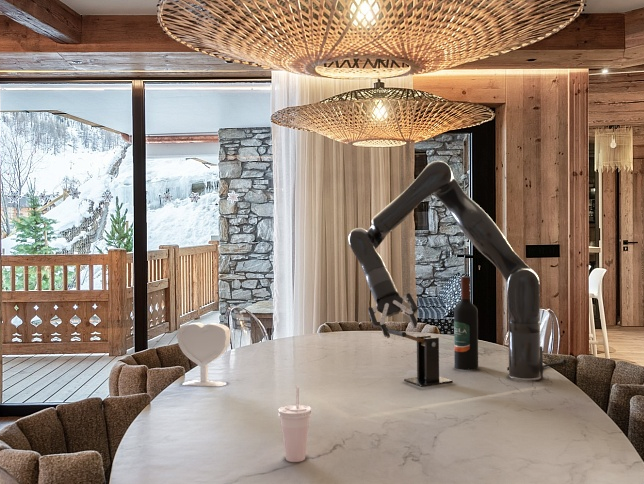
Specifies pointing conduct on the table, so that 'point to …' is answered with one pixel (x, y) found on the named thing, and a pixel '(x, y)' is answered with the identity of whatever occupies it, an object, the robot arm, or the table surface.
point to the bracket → (428, 364)
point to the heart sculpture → (203, 347)
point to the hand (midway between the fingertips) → (402, 332)
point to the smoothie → (295, 429)
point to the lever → (406, 336)
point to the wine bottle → (466, 330)
